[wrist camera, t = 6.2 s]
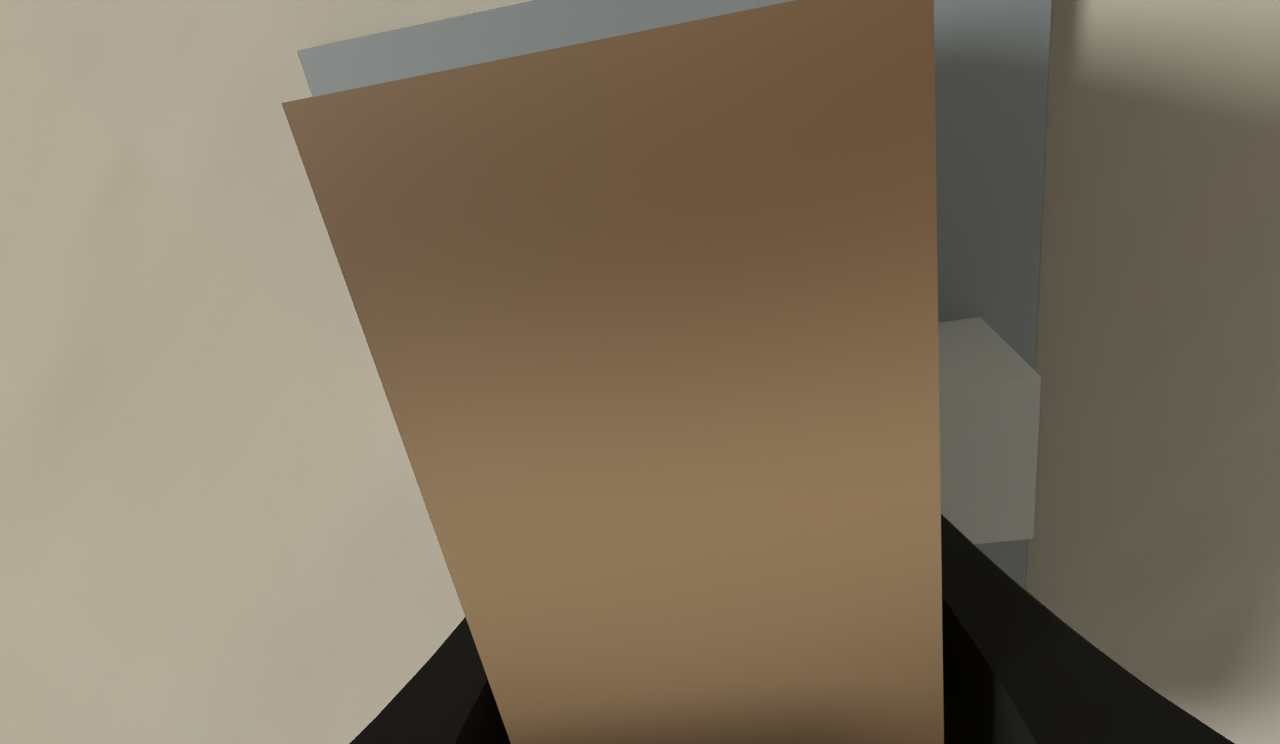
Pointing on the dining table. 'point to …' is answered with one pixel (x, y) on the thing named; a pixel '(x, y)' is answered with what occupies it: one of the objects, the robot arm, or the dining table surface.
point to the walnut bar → (668, 366)
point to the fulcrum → (966, 209)
